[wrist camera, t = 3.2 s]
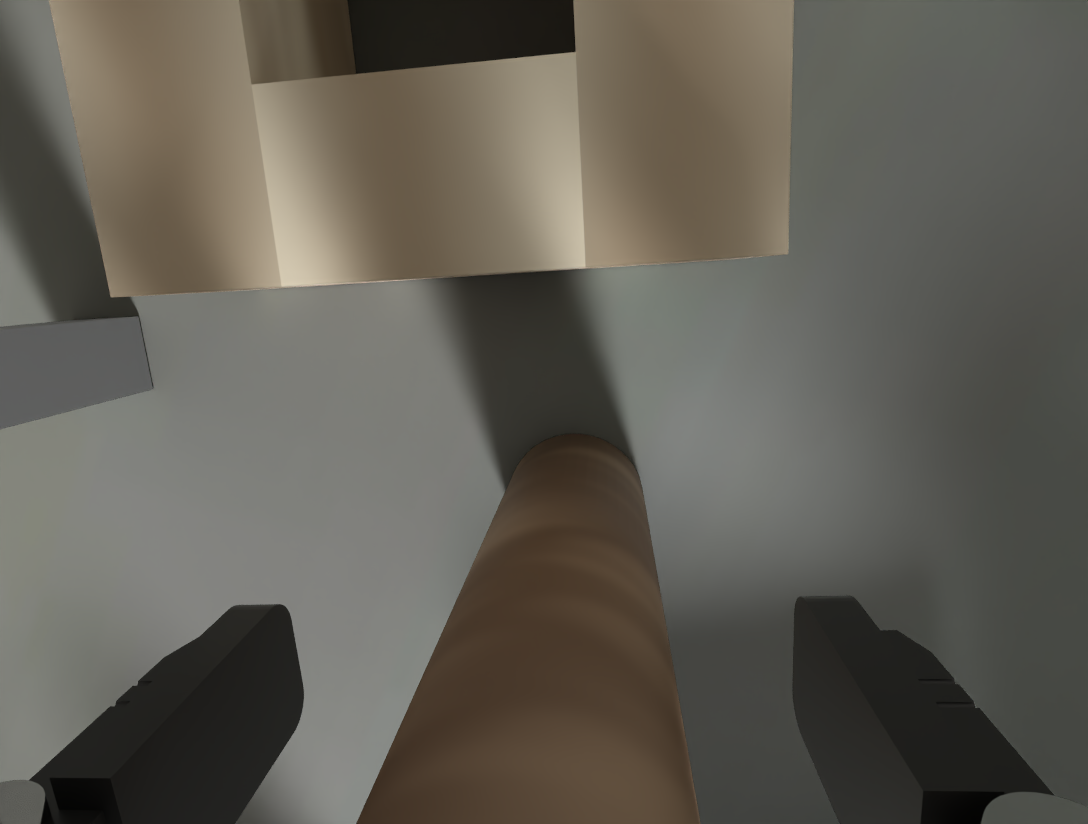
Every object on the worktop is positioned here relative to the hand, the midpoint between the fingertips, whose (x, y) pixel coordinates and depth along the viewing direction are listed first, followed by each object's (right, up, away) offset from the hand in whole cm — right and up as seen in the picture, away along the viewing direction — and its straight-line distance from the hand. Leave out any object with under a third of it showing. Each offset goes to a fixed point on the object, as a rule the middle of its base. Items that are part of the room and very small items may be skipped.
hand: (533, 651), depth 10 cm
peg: (+1, +1, +7) cm, 7 cm away
